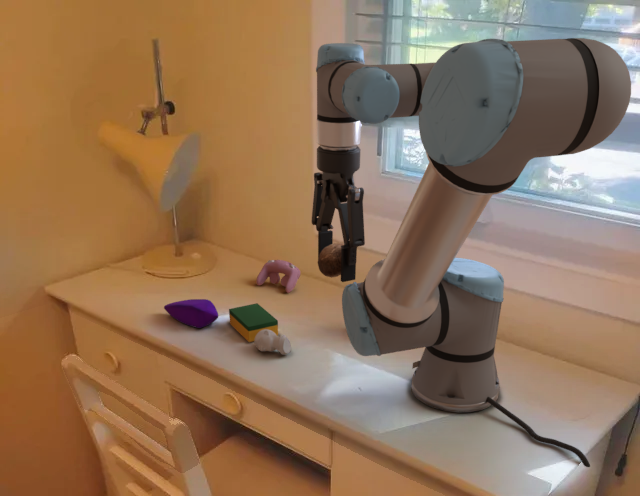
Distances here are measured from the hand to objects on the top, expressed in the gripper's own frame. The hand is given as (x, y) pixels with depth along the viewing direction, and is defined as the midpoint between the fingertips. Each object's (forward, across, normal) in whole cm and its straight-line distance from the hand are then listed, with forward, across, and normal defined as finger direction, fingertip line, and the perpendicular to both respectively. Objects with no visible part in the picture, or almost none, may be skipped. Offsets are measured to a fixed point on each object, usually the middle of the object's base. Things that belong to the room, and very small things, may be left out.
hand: (336, 272), depth 134 cm
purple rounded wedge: (+15, +23, +22) cm, 35 cm away
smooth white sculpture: (+15, +2, +13) cm, 20 cm away
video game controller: (+15, +32, -3) cm, 36 cm away
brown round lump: (0, 0, 0) cm, 0 cm away
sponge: (+15, +13, +12) cm, 23 cm away
